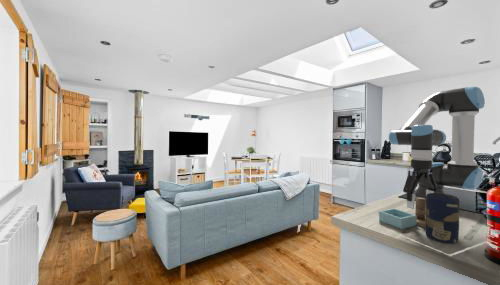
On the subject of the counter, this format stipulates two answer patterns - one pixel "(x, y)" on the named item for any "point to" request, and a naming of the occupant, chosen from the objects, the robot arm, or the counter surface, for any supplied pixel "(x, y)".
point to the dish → (398, 218)
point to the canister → (442, 217)
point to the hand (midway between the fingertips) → (420, 206)
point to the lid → (420, 211)
